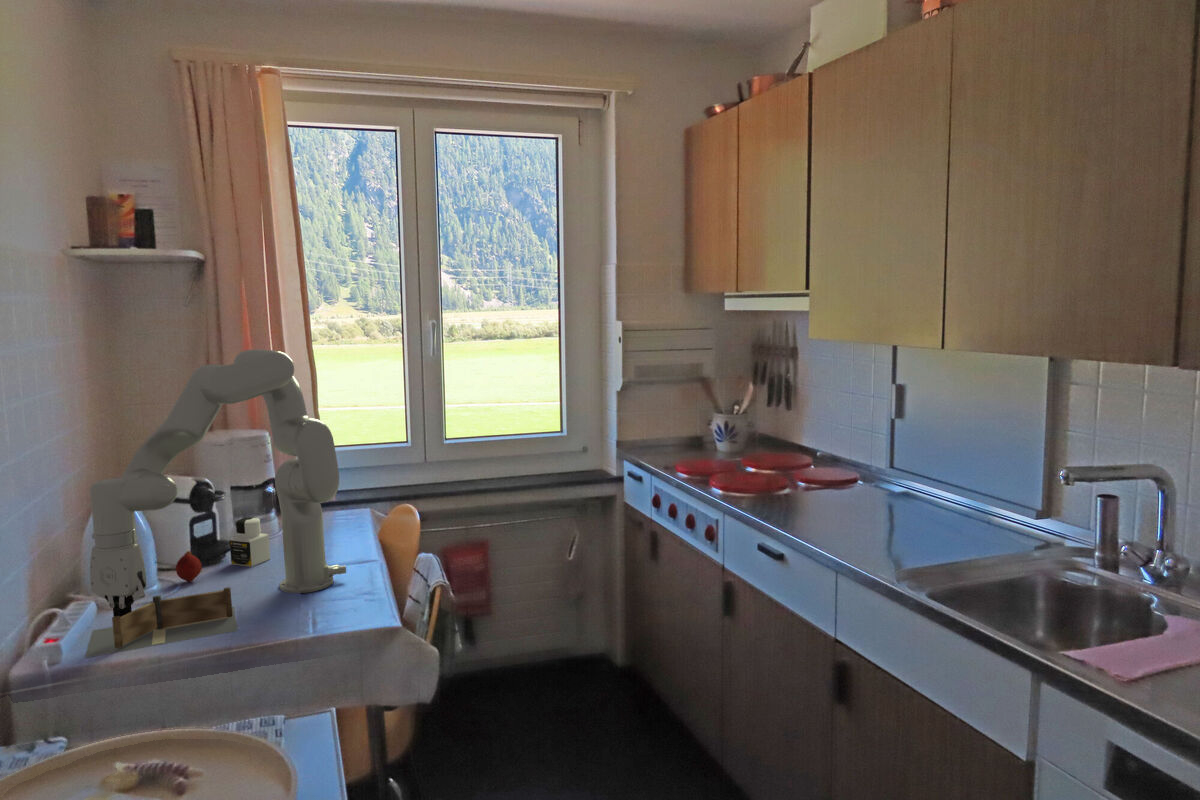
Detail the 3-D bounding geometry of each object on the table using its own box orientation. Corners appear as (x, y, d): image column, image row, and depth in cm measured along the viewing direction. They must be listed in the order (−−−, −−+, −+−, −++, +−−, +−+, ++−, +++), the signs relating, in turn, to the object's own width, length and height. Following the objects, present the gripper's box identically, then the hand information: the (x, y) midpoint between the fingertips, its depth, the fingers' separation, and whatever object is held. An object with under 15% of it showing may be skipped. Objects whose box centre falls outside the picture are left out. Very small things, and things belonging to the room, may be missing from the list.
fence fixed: (232, 614, 190) (230, 584, 189) (232, 616, 188) (230, 586, 187) (155, 627, 183) (152, 596, 182) (155, 630, 181) (152, 598, 181)
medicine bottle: (230, 564, 227) (227, 521, 226) (250, 556, 234) (247, 514, 232) (251, 567, 225) (247, 523, 223) (271, 559, 231) (267, 516, 230)
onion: (192, 586, 210) (189, 555, 209) (171, 585, 212) (169, 554, 211) (207, 578, 216) (204, 548, 215) (187, 577, 217) (185, 547, 216)
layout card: (233, 608, 194) (233, 606, 194) (237, 632, 180) (237, 630, 180) (92, 632, 182) (92, 630, 182) (84, 659, 168) (84, 657, 168)
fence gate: (152, 627, 181) (149, 599, 181) (158, 627, 181) (155, 599, 180) (113, 647, 171) (110, 618, 170) (119, 648, 171) (116, 618, 170)
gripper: (70, 542, 172) (78, 629, 174) (132, 545, 169) (140, 634, 171) (99, 532, 179) (107, 615, 182) (160, 535, 176) (167, 620, 178)
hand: (123, 624), depth 176 cm, fingers closed
